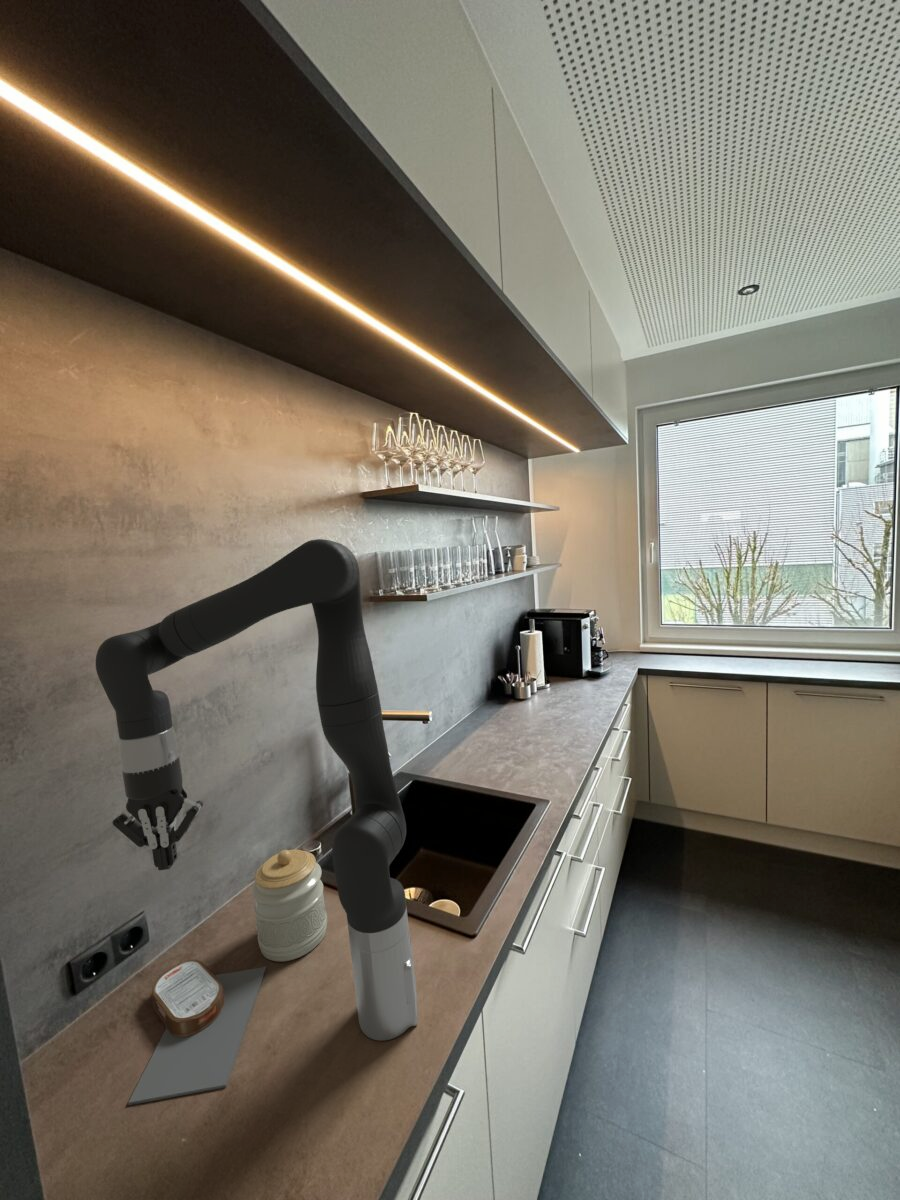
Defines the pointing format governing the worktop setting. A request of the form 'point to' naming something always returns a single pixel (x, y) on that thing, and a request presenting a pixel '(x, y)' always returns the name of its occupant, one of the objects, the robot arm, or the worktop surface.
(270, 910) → the jar
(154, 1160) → the worktop surface
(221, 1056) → the mat
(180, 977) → the tin
